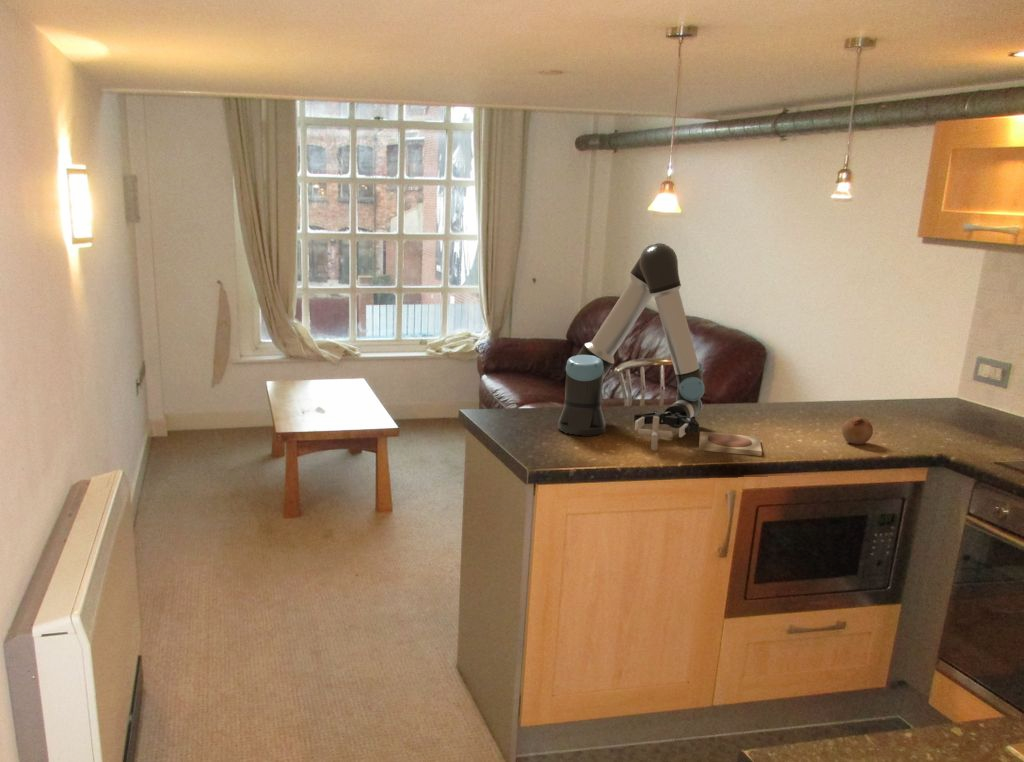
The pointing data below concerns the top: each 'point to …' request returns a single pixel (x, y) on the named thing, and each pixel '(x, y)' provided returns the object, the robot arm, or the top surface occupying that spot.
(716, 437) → the board
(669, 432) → the grey toy jack
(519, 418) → the top surface
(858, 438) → the onion
